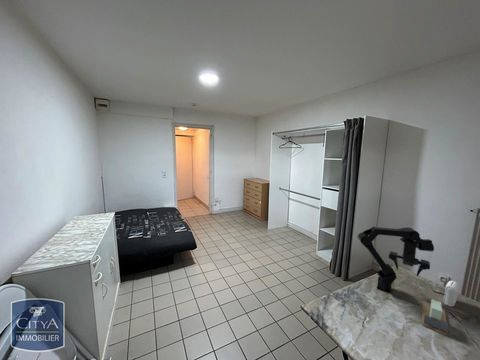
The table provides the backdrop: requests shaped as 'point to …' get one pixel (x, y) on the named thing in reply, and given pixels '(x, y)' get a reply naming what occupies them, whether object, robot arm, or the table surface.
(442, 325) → the bookend
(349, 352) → the table surface
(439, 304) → the book
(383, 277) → the robot arm
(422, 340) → the table surface
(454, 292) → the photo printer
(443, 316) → the shelf board
